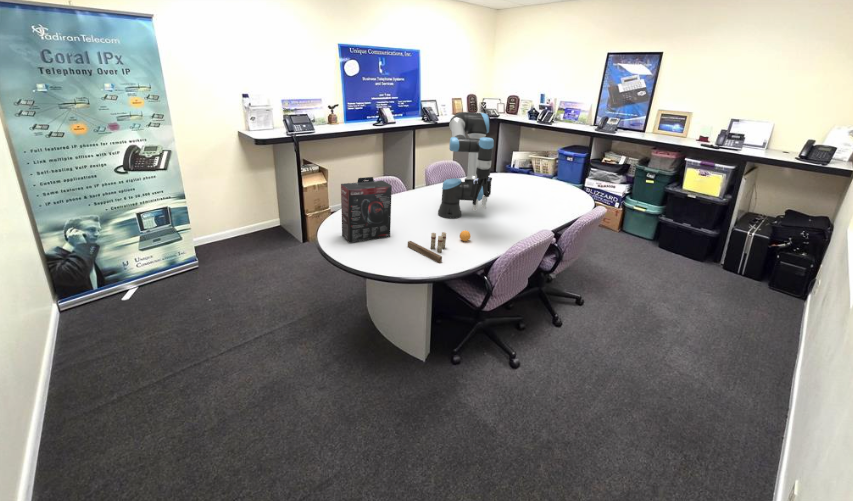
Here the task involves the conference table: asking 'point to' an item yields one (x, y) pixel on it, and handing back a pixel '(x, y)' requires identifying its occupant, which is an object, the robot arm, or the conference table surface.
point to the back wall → (425, 251)
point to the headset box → (366, 210)
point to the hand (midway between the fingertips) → (479, 208)
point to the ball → (465, 235)
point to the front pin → (443, 240)
